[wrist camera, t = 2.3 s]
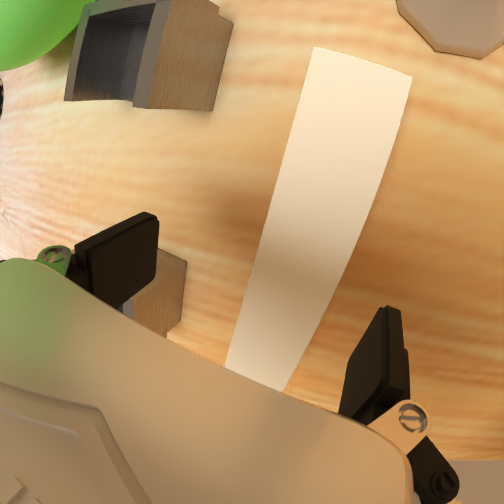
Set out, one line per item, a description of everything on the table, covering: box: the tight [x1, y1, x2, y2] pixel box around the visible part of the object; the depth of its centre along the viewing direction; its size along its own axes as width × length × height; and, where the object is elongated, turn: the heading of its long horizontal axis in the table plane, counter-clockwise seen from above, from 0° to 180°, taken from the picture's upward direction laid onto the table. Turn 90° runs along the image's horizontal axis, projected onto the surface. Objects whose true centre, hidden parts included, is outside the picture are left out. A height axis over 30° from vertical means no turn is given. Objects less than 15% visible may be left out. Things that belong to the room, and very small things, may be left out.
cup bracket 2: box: [71, 248, 187, 338], centre depth 22 cm, size 8×6×6 cm
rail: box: [224, 46, 413, 392], centre depth 16 cm, size 4×19×5 cm, turn 165°
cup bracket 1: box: [64, 0, 233, 111], centre depth 14 cm, size 8×6×6 cm
